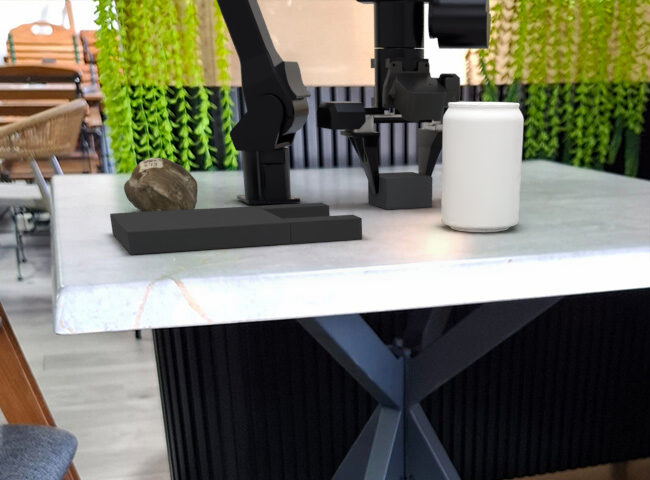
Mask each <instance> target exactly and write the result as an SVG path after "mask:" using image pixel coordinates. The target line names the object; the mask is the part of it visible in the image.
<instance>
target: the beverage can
mask: <svg viewBox="0 0 650 480" xmlns="http://www.w3.org/2000/svg"><path fill="white" fill-rule="evenodd" d="M448 106H449V108H448V109H447V111H446V112H445V114H444V116H443V145H442V150H441V151H442V152H441V153H442V154H441V209H440V210H441V213H440V215H441V223H442V224H444V225H446V226H448V227H449V228H450V229H451V230H454V231H455V230H456V231H460V232H469V233H496V232H502V231H507V230H509V229H510V228H511V227H513V226H516V225H517V224H519V218H520V198H521V181H522V180H521V179H522V163H523V162H522V159H523V143H524V121H525V120H524V115H523V113H522V111H521V110H520V106H521V105H520V103H519V102H508V101H507V102H506V101H469V102H450V103H448Z"/></svg>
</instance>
